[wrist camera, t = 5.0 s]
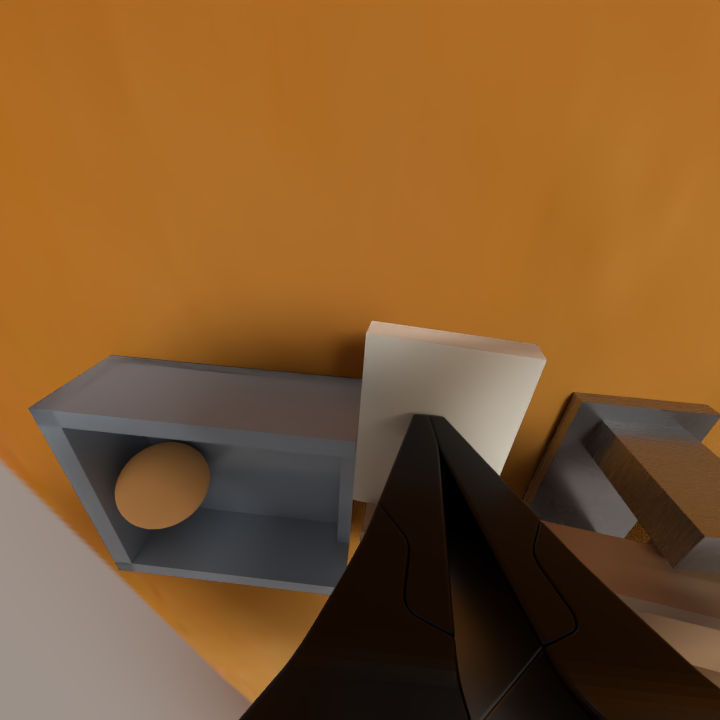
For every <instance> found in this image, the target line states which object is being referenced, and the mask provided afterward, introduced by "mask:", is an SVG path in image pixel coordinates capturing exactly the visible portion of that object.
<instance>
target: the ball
mask: <svg viewBox="0 0 720 720" xmlns="http://www.w3.org/2000/svg"><path fill="white" fill-rule="evenodd" d="M209 483H210V471H209V467H208V464H207V462H206V460H205V458H204V457H203V456H202V454H201V453H200V452H198V451H197V450H196V449H195V448H193V447H191V446H189V445H187V444H183V443H178V442H164V443H159V444H155V445H152V446H150V447H147V448H145V449H144V450H142V451H140V452H139V453H137V454H136V455H135V456H134V457H132V458H131V459H130V460H129V461H128V462H127V464H126V465H125V466H124V468H123V469H122V470H121V472H120V475H119V477H118V479H117V482H116V486H115V501H116V505H117V508H118V510H119V512H120V513H121V515H122V516H123V517H124V518H125V519H126V520H127V521H128V522H130V523H131V524H133V525H135V526H138V527H141V528H145V529H162V528H166V527H170V526H173V525H175V524H178V523H180V522H181V521H183V520H185V519H186V518H188V517H189V516H190V515H191V514H193V513H194V512H195V511H196V510H197V509H198V507H199V506H200V505H201V503H202V502H203V500H204V498H205V496H206V494H207V491H208V488H209Z"/></svg>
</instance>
